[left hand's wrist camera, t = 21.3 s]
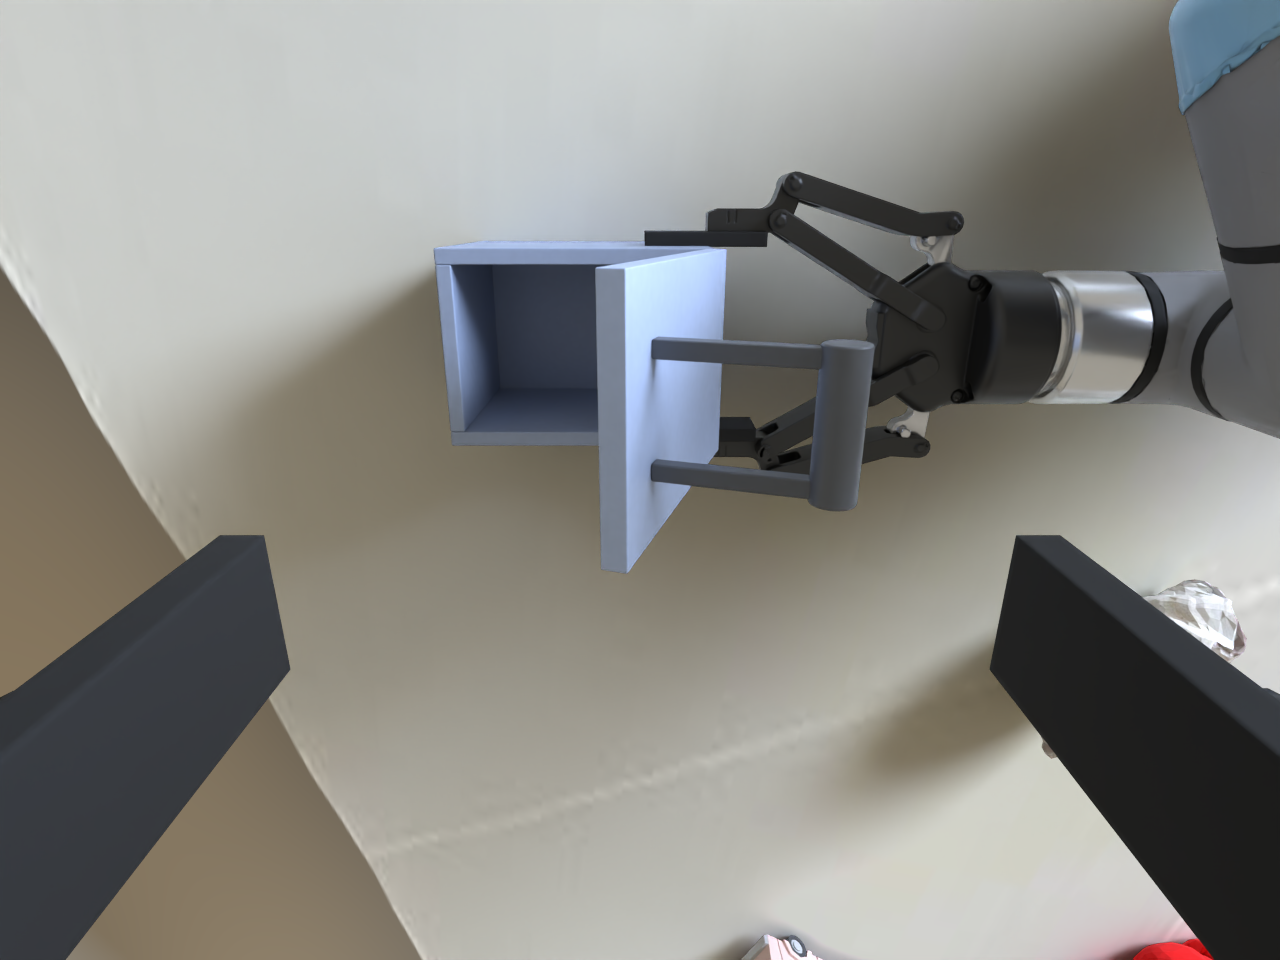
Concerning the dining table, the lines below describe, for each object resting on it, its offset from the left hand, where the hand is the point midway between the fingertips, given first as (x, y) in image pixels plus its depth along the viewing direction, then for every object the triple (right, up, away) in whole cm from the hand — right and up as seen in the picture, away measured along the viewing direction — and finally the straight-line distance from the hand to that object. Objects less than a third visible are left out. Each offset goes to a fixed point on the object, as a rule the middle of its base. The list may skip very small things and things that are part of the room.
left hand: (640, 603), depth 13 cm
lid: (+1, +6, +17) cm, 18 cm away
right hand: (0, +10, +28) cm, 30 cm away
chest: (-3, +13, +35) cm, 37 cm away
